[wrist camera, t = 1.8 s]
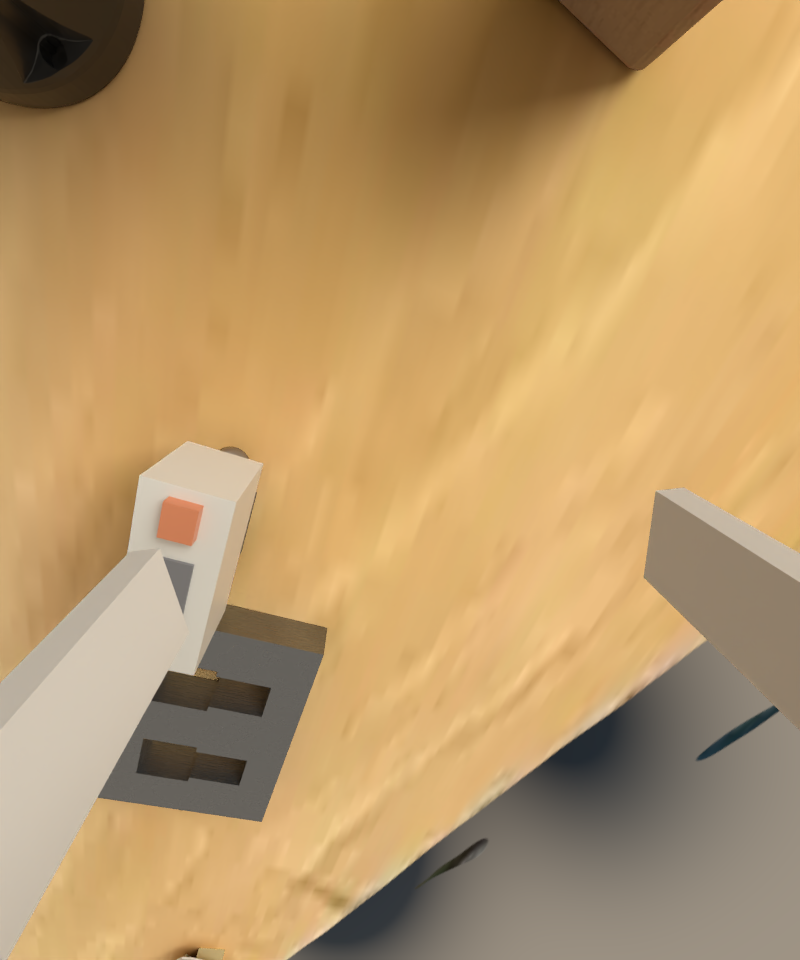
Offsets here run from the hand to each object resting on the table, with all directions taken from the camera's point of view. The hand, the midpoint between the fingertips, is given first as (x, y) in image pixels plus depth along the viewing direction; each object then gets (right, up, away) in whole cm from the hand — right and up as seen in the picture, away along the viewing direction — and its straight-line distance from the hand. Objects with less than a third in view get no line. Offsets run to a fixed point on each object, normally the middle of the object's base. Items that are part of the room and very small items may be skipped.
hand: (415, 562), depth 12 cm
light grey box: (-16, -1, +25) cm, 30 cm away
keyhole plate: (-20, -20, +33) cm, 43 cm away
